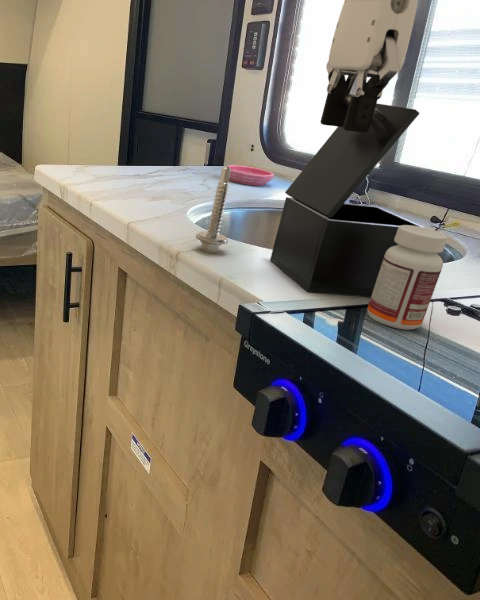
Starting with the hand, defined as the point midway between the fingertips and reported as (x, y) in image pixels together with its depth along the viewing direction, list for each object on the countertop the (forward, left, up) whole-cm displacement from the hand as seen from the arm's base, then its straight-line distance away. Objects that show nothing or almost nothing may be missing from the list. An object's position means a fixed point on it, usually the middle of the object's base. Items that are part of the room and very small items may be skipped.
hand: (343, 126), depth 77 cm
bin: (-5, 0, -21) cm, 21 cm away
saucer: (-20, -74, -21) cm, 80 cm away
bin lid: (-2, 0, -4) cm, 4 cm away
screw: (+11, -9, -21) cm, 25 cm away
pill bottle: (-5, +14, -21) cm, 26 cm away
